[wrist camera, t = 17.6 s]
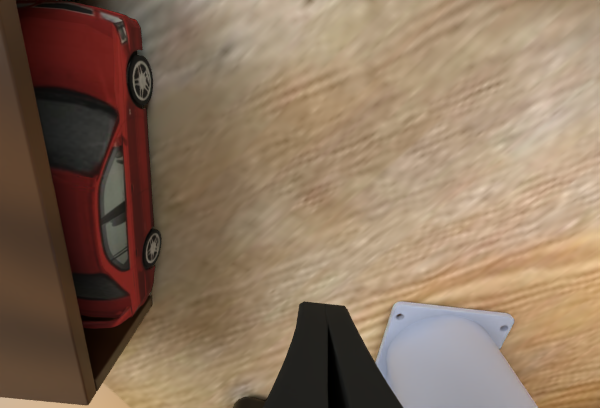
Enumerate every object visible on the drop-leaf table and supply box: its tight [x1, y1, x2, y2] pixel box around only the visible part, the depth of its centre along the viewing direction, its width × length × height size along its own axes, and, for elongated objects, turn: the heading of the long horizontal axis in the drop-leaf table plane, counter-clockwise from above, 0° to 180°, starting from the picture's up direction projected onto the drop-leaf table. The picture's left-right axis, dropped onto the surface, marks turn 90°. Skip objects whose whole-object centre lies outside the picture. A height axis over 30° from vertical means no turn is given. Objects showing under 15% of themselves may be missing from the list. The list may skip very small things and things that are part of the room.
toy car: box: [16, 0, 161, 329], centre depth 15 cm, size 6×15×5 cm, turn 169°
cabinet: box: [0, 0, 152, 405], centre depth 14 cm, size 20×8×7 cm, turn 173°
